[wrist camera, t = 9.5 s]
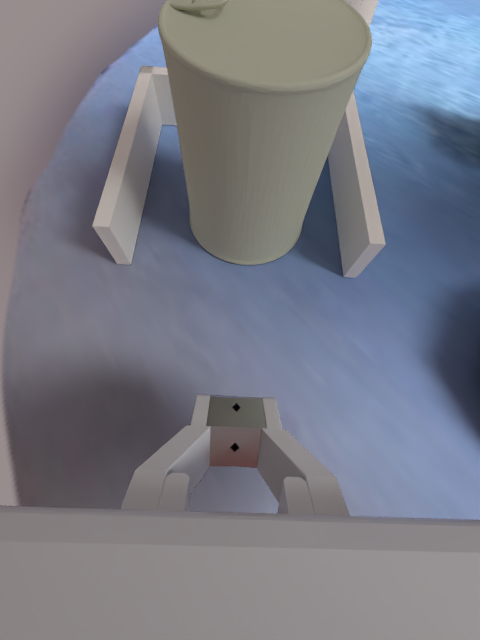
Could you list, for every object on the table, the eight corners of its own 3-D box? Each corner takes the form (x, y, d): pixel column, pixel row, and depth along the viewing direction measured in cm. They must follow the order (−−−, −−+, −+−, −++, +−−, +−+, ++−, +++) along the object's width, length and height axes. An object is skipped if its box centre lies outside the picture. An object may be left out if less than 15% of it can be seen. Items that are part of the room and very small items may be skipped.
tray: (356, 277, 20) (385, 244, 17) (117, 263, 20) (92, 225, 16) (334, 131, 27) (351, 83, 23) (153, 117, 26) (141, 65, 22)
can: (208, 168, 24) (194, -58, 13) (309, 191, 23) (384, -22, 12) (174, 249, 20) (113, 37, 9) (291, 278, 20) (374, 92, 9)
